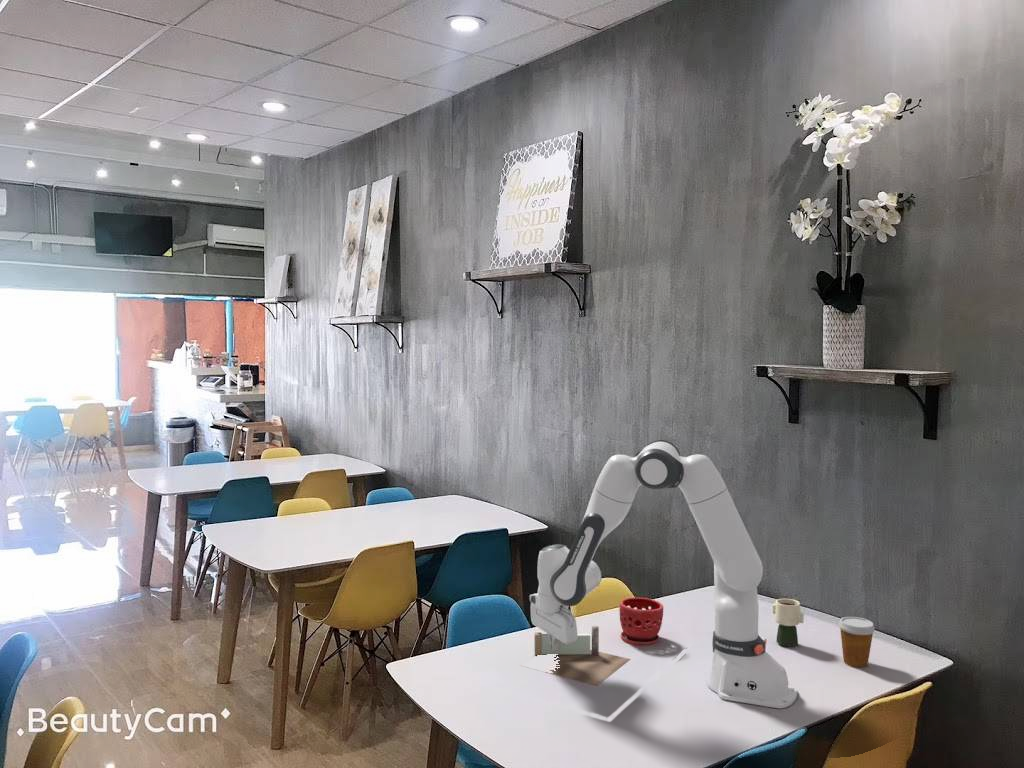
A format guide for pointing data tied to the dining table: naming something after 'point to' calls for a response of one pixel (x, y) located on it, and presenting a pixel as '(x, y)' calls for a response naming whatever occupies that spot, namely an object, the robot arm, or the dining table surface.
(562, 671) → the gate base board
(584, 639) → the gate
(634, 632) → the plant pot
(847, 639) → the disposable coffee cup
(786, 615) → the character mug
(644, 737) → the dining table surface
